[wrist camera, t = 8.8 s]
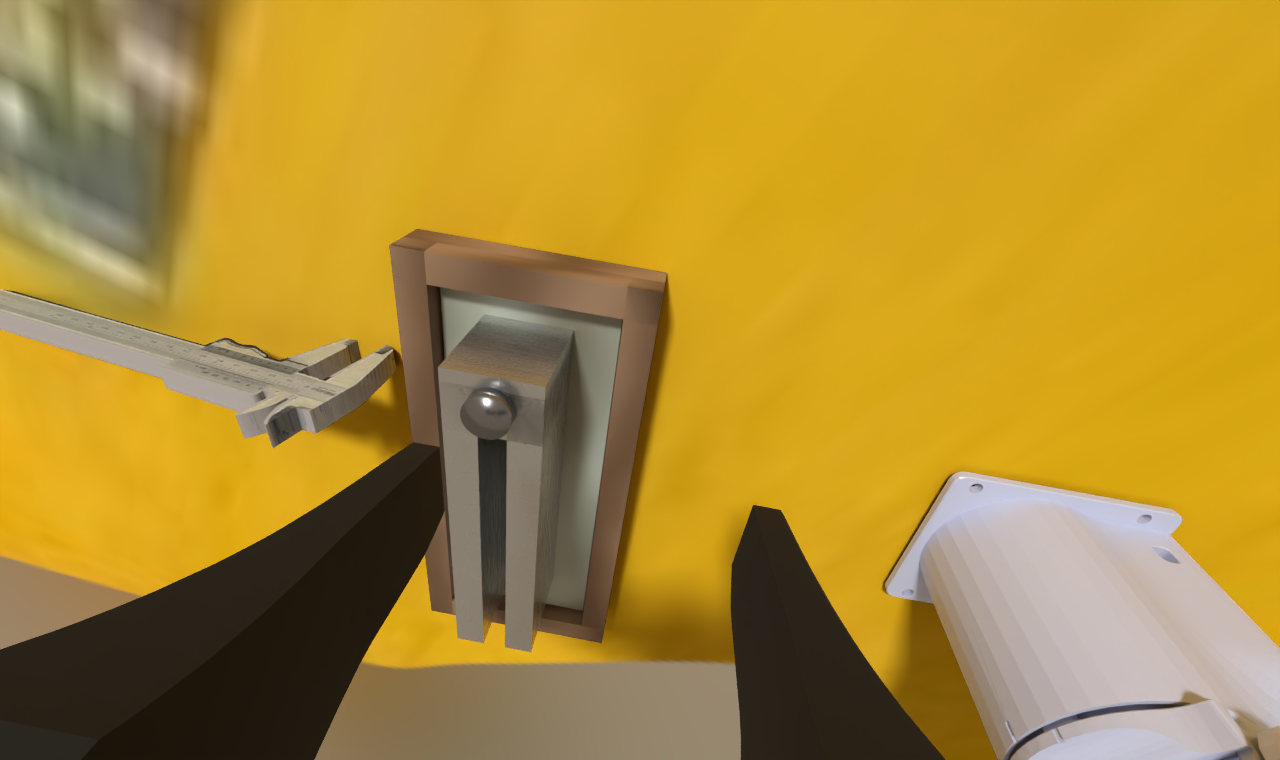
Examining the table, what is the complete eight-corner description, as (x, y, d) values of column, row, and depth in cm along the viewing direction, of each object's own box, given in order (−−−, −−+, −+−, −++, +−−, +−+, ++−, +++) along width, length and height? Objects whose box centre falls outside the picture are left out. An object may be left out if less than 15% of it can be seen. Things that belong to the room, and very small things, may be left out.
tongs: (573, 330, 20) (540, 397, 16) (553, 578, 27) (527, 665, 23) (484, 313, 20) (428, 376, 16) (489, 566, 27) (452, 650, 23)
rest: (667, 273, 19) (663, 293, 18) (607, 610, 30) (601, 643, 28) (417, 229, 20) (389, 245, 18) (447, 579, 30) (431, 610, 29)
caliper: (400, 341, 23) (305, 428, 17) (404, 364, 23) (313, 454, 18) (-42, 279, 24) (-262, 343, 18) (-28, 302, 24) (-237, 371, 19)
